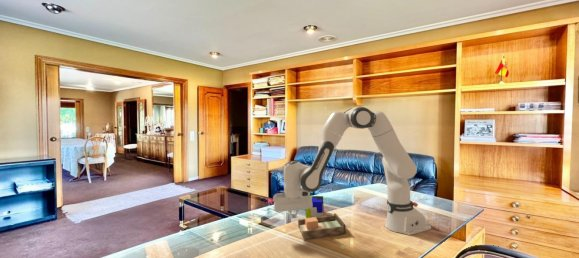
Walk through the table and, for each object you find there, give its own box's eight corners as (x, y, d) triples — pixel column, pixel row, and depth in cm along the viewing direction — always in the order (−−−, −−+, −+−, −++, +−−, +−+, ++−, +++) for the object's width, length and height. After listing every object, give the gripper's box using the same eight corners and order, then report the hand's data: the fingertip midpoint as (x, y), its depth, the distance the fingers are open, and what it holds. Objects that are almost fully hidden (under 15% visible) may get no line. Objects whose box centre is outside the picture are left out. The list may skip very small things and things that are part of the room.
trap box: (336, 221, 147) (335, 213, 147) (345, 234, 132) (345, 224, 132) (298, 226, 144) (297, 217, 144) (303, 239, 129) (303, 230, 129)
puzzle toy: (322, 218, 153) (321, 202, 152) (305, 217, 155) (305, 201, 154) (323, 211, 163) (323, 196, 162) (308, 211, 165) (307, 196, 164)
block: (316, 224, 140) (315, 216, 140) (318, 228, 135) (318, 220, 135) (305, 225, 139) (304, 218, 139) (307, 229, 134) (306, 222, 134)
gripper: (273, 195, 130) (274, 222, 131) (312, 192, 133) (313, 218, 134) (272, 191, 136) (273, 217, 137) (310, 188, 139) (311, 213, 140)
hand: (293, 217), depth 136 cm, fingers closed
